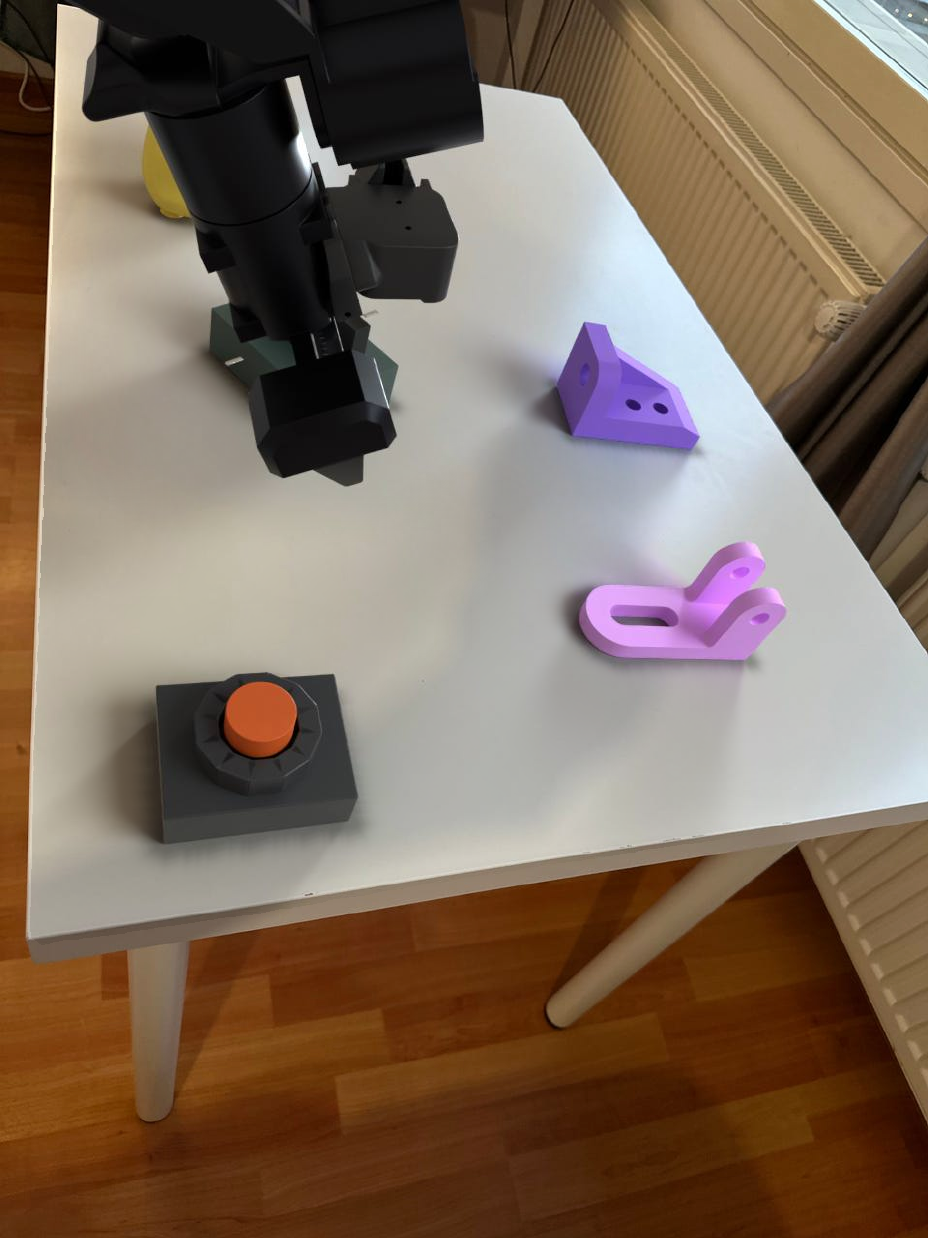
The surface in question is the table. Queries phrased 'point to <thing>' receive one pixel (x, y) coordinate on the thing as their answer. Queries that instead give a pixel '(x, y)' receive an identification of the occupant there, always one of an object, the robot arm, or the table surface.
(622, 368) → the bracket
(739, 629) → the bracket
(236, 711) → the release button
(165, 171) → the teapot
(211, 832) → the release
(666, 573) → the table surface
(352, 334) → the black bar
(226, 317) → the dark green flat block
